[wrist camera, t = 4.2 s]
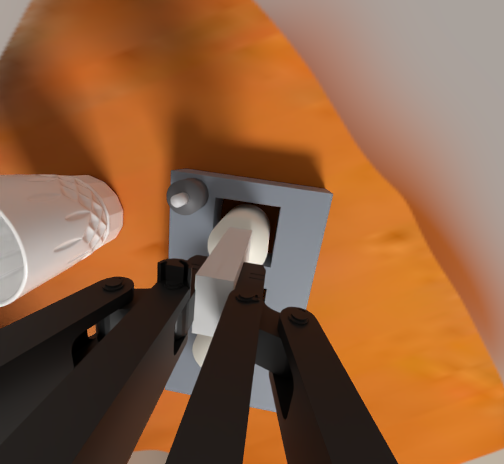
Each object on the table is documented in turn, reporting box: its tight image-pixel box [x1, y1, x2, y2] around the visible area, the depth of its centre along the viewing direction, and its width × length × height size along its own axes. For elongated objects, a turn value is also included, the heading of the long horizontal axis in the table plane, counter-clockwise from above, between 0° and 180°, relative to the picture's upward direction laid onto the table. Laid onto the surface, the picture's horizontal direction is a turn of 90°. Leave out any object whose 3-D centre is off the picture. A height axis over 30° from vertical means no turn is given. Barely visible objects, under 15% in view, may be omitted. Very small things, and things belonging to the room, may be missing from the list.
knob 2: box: [208, 204, 270, 265], centre depth 18 cm, size 4×4×5 cm
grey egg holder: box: [165, 169, 333, 412], centre depth 21 cm, size 12×22×6 cm, turn 173°
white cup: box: [0, 174, 123, 307], centre depth 18 cm, size 8×8×10 cm
